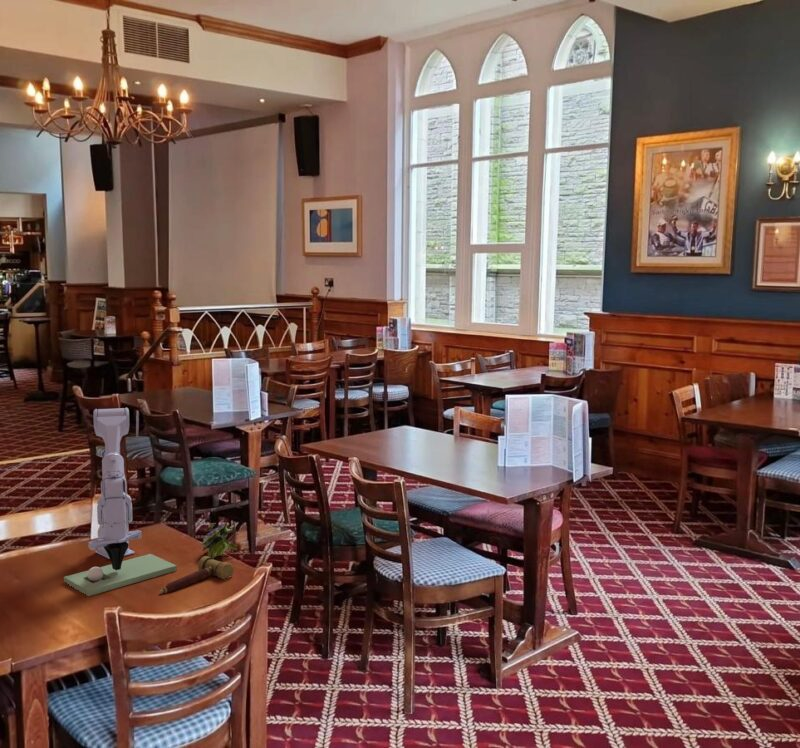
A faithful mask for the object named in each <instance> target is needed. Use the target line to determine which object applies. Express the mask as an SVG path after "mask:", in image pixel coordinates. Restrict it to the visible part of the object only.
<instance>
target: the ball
mask: <svg viewBox="0 0 800 748" xmlns="http://www.w3.org/2000/svg"><path fill="white" fill-rule="evenodd" d="M100 567H101V566H92V567H91V568H89V569H88V570H89V571H88V570H87V571H88V574H87V575H88V579H89V580H90V581H92V582H97V581H99V580H101V578H102V577H103V571H102V569H101V568H100ZM102 579H103V578H102Z"/></svg>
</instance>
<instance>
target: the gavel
mask: <svg viewBox="0 0 800 748" xmlns="http://www.w3.org/2000/svg"><path fill="white" fill-rule="evenodd" d="M197 569H198V570H196V571H195V572H192V573H189V574H187V575H185V576H183V577H181V578H178V579H175V580H173V581H171V582H169V583H167V584H166V585H165V586H163V587H162V589H160V590H159V594H160V595H161V594H167V593H168V594H169V593H172V592H175V591H178V590H180V589H183V588H186V587H187V586H190V585H192V584H194V583H196V582H199V581H201V580H203V579H206V578H207V577H208V576H210V575H213V576H215V577H217V578H218V579H220V578H221V580H223V579H224V580H226V579H225V578H227V577H229V576H232V577H233V576H234V569H235V568H234V565H233V564H232V563H229V562H226V561H224V562H222V561H220V560H216V559H215V558H212V556H211V557H208V555H204V556H202V557H201V558H200V559H199V561H198V564H197ZM227 579H228V578H227Z"/></svg>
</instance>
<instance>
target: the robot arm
mask: <svg viewBox="0 0 800 748" xmlns="http://www.w3.org/2000/svg"><path fill="white" fill-rule="evenodd" d="M92 415H93V429H94V433H95V436H96V437H97V436H98V437H100V438H102V440H103V442H104V449H105V450H104V452H105V455H104V457H102V459H101V473H102V474H101V475H102V480H101V481H100V491H101V492H100V497H99V498H98V499H97V508H96V509H97V510H96V512H97V513H96V515H97V516H96V517H97V524H98V525H99V527H98V529H97V539H94V540H91V541H88V549H89V550H91V551H95V553H96V554H98V555H100V556H102V557H104V558H106V559H108V560H110V562H111V564H112V568H113V569H114V570H119V569H121V565H122V561H124V557H126V556H131V555H134V554H135V553H136V552H135V551H134V550H132V549H130V544H129V543H130V542H129V541H133V540H136V539H137V540H140V539H142V537H143V535H142V534H143V533H142V531H141V530H138V529H136V530H132V531H129V523H131V522H132V521H133V504H132V497H131V496H130V495H129V494H128V491H127V488H128V487H127V479H126V474H125V461H124V457H123V456H122V455H121V440H122V438H123V436H124V437H125V436H126V435H128V434H129V431H130V410H129V408H128V407H125V408H124V407H122V408H120V407H119V408H117V407H116V408H98V409H97V408H94V410H93V414H92ZM96 549H97V550H96Z"/></svg>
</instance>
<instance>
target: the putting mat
mask: <svg viewBox="0 0 800 748" xmlns="http://www.w3.org/2000/svg"><path fill="white" fill-rule="evenodd" d="M99 567H100V568H101V569H102V571H103V577H102V578H101V580H99V581H97V582H92V581H90V580H89V579H88V575H87V574H88V571H89V570H90V569H87V570H85V571H81V572H76V573H73V574H70V575H66V576H63V583H64V582H66V583H67V584H66V583H65V584H66V585H68V584H69V585H68V586H70V587H71V586H72V587H71V588H73V587H74V588H73V589H75V590H77V591H78V590H79V591H78V592H80V593H82V594H83V593H84V594H83V595H85V594H86V595H85V596H87V597H90V596H95V595H98V594H101V593H104V592H109V591H111V590H115V589H118V588H122V587H124V586H128V585H132V584H135V583H139V582H142V581H146V580H149V579H153V578H156V577H159V576H162V575H166V574H169V573H174V572H176V571H178V570H177V567H178V566H177V565H176V564H174V563H172V562H169V561H167V560H166V559H163V558H162V557H159V556H156V555H154V554H152V553H148V554H145V555H140V556H137V557H132V558H129V559H126V560H123V561H122V565H121V569H119V570H114V569H113V568H112V564H107V565H103V566H99Z"/></svg>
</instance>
